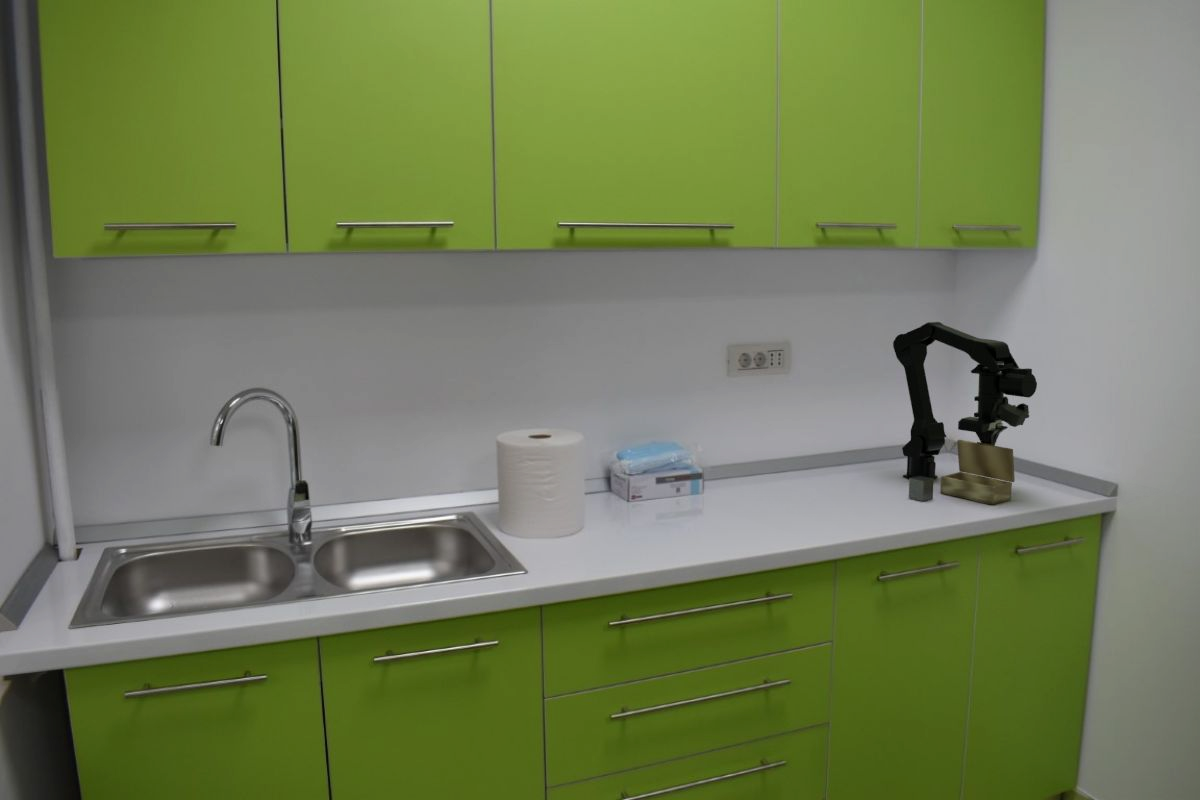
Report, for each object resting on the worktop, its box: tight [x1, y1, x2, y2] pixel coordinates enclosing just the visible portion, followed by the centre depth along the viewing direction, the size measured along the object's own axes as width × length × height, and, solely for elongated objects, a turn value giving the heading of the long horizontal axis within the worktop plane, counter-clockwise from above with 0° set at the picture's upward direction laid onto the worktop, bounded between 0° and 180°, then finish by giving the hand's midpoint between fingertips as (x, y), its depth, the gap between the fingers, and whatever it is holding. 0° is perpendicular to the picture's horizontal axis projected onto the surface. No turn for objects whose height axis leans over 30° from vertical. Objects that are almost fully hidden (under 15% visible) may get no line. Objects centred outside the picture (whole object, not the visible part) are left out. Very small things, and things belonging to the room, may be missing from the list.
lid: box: [956, 439, 1016, 483], centre depth 217 cm, size 14×9×1 cm
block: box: [908, 476, 935, 502], centre depth 214 cm, size 4×4×5 cm
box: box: [939, 471, 1013, 506], centre depth 215 cm, size 14×8×4 cm, turn 35°
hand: (988, 454), depth 217 cm, fingers closed
